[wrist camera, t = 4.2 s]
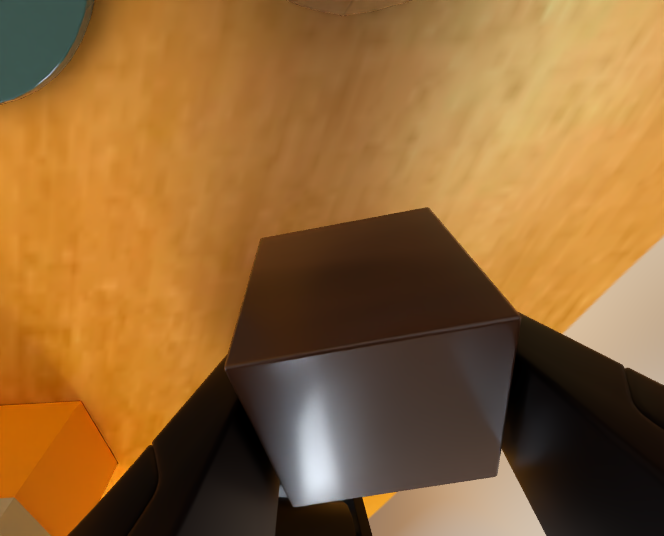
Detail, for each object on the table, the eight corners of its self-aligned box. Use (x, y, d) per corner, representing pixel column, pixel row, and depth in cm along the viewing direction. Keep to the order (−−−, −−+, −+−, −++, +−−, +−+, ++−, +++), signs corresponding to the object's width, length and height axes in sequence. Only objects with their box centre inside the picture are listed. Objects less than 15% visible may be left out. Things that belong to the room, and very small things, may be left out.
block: (432, 334, 10) (498, 477, 6) (297, 356, 10) (292, 508, 7) (428, 205, 8) (524, 316, 4) (259, 237, 8) (221, 368, 4)
